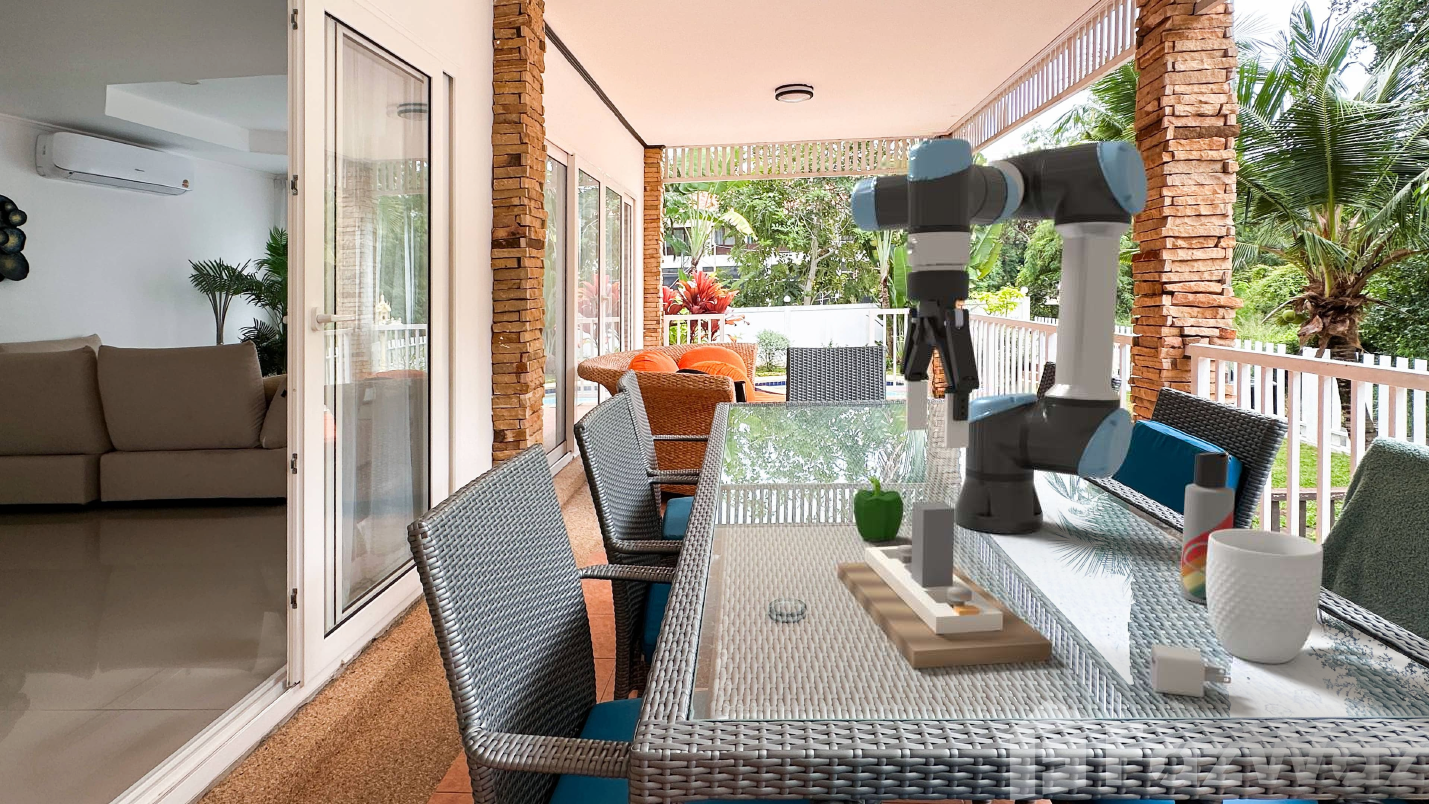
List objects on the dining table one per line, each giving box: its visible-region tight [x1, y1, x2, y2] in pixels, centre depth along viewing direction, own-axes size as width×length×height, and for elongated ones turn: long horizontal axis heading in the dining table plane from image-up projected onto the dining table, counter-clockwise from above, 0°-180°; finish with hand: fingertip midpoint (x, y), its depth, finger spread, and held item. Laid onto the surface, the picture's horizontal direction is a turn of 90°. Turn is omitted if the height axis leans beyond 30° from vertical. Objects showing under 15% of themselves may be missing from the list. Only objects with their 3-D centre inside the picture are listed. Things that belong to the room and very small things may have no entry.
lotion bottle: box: [1179, 451, 1236, 605], centre depth 116 cm, size 6×6×20 cm
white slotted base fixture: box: [864, 500, 1003, 634], centre depth 114 cm, size 28×8×12 cm, turn 7°
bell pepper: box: [853, 477, 904, 542], centre depth 147 cm, size 8×8×10 cm
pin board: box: [837, 544, 1053, 669], centre depth 112 cm, size 32×16×6 cm, turn 7°
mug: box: [1206, 528, 1324, 665], centre depth 99 cm, size 15×11×13 cm
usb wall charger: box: [1149, 643, 1232, 698], centre depth 90 cm, size 4×7×4 cm, turn 72°
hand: (935, 438), depth 111 cm, fingers open, 13 cm apart
